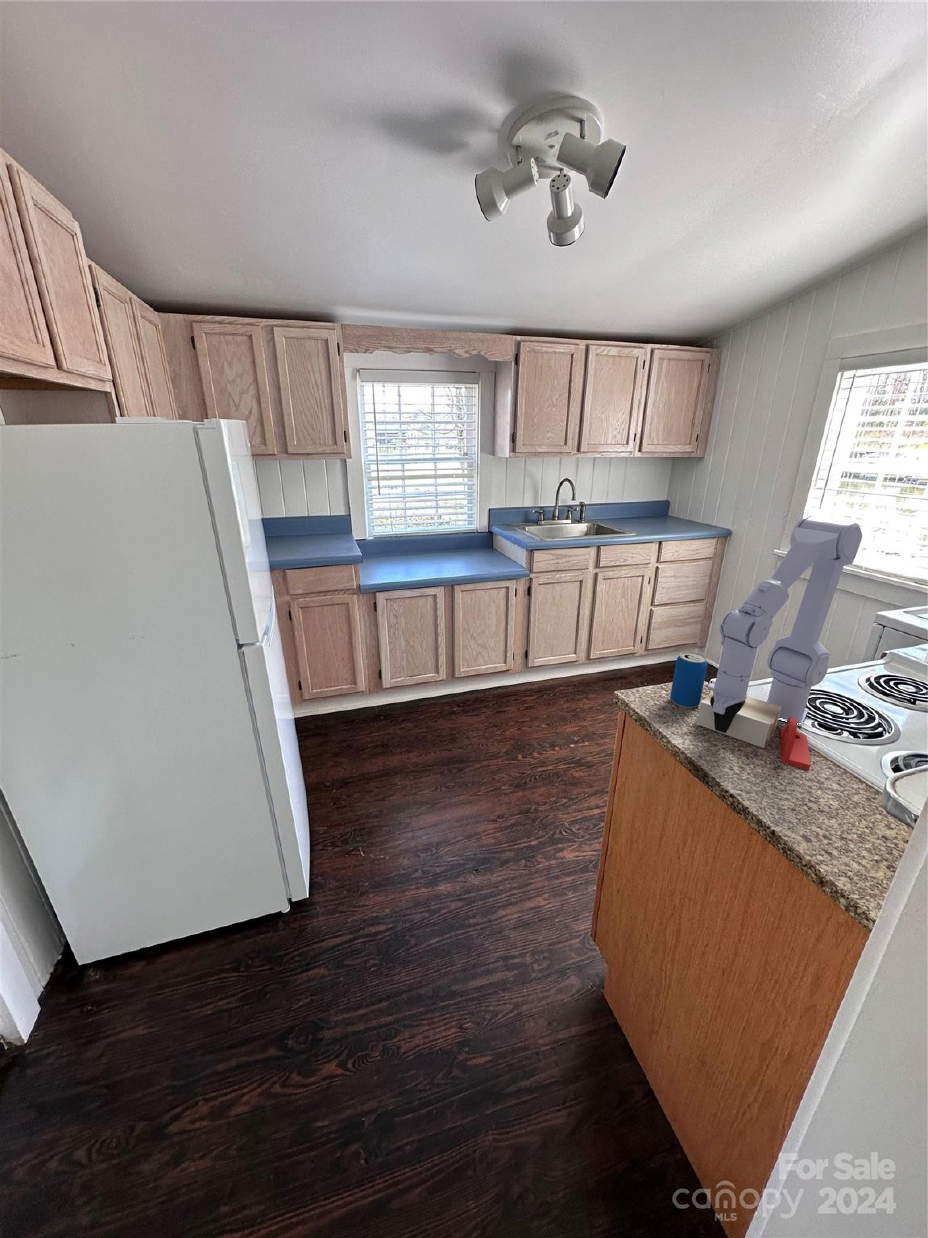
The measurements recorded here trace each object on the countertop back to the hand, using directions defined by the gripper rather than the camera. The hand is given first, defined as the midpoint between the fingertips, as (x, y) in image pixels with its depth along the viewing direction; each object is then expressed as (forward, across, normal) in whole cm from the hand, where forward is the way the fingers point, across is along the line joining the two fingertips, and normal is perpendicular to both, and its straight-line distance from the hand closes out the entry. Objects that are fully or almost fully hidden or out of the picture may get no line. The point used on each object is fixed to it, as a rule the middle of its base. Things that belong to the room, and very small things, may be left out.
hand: (721, 730), depth 101 cm
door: (+2, -3, +1) cm, 3 cm away
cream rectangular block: (+2, -8, +1) cm, 8 cm away
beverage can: (+2, -10, -10) cm, 15 cm away
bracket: (+2, -6, +12) cm, 14 cm away
